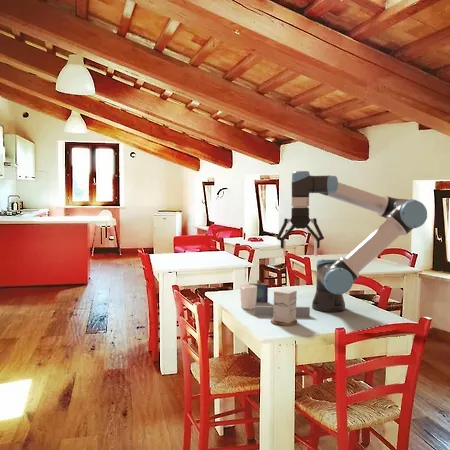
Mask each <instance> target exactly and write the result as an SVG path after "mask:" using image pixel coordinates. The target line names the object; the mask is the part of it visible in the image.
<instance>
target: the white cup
mask: <svg viewBox="0 0 450 450" xmlns="http://www.w3.org/2000/svg"><path fill="white" fill-rule="evenodd" d="M239 293H240V307H241V308H242V309H244V310H254V309H255V306H257V302H256V298H257V286H256V285H249V284H241V285H240V292H239Z"/></svg>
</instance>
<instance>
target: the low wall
mask: <svg viewBox="0 0 450 450" xmlns="http://www.w3.org/2000/svg"><path fill="white" fill-rule="evenodd" d="M253 310H254V311H253V312H254V313H253V315H254V317H273V311H274V305H273V306H272V305H256V306H255V308H254V309H253ZM310 314H311V308H310V306H296V318H297V317H303V318H305V317H306V318H307V317H308V318H309V317H310V316H311V315H310Z"/></svg>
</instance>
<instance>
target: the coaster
mask: <svg viewBox="0 0 450 450" xmlns="http://www.w3.org/2000/svg"><path fill="white" fill-rule="evenodd" d="M270 323H271V324H272V325H274V326H278V325H279V326H280V327H291V326H292V327H293V326H295V325H298V320H297V319H296V320H294V321H292V322H290V323H285V322H279V321H273V317H272V318H271V319H270Z"/></svg>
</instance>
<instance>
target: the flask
mask: <svg viewBox="0 0 450 450" xmlns="http://www.w3.org/2000/svg"><path fill="white" fill-rule="evenodd" d="M248 285H256V286H257V298H256V303H265V304H266V303H268V301H269V299H268V298H269V297H268V296H269V295H268V293H269V291H268V290H269V286H268V284H267V283H265V282H261V279H258V280H256V283H253V282H252V283H249V284H248Z"/></svg>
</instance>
